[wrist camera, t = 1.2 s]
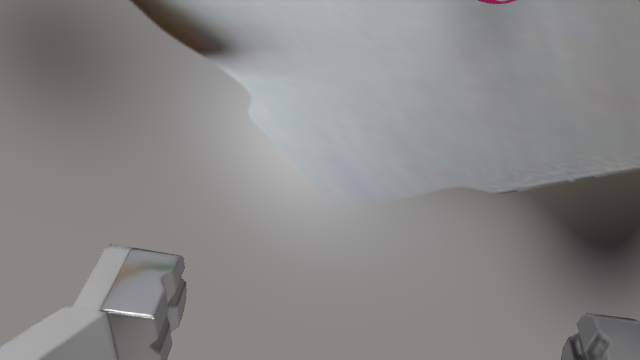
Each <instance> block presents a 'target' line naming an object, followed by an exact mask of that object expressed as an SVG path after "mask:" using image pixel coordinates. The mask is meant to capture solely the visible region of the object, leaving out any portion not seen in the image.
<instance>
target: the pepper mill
mask: <svg viewBox="0 0 640 360" xmlns="http://www.w3.org/2000/svg"><path fill="white" fill-rule="evenodd" d="M479 1H481V2H485V3H490V4H502V3H509V2H512V1H516V0H479Z"/></svg>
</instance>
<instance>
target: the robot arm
mask: <svg viewBox="0 0 640 360" xmlns="http://www.w3.org/2000/svg"><path fill="white" fill-rule="evenodd" d="M184 268H185V266H184V258H183V256H180V255H173V254H168V253H161V252H156V251H150V250H144V249H138V248H131V247H125V246H118V245H112V244H109V245H108V246H107V247H106V248H105V249H104V250H103V251H102V253H101V255H100V257H99V258H98V260H97V262H96V264H95V265H94V267H93V269H92V271H91V273H90V275H89V276H88V278H87V280H86V282H85V283H84V286H83V287H82V289H81V291H80V292H79V294H78V296H77V298H76V300H75V302H74V303H73V305H72V307H69V306H63V307H62V308H60V309H59V310H57V311H56V312H54V313H52V314H51V315H49V316H48V317H46V318H45V319H43V320H42V321H40V322H38V323H37V324H35V325H34V326H32V327H30V328H29V329H27V330H26V331H24V332H23V333H21V334H20V335H18V336H16V337H15V338H13V339H12V340H10V341H9V342H7V343H5V344H4V345H2V346H1V347H0V360H167V358H168V355H169V352H170V349H171V347H172V339H171V332H172V331H173V330H175V329H176V328H178V327H179V325H180V321H181V319H182V316H183V312H184V307H185V302H186V291H187V290H186V282H185V281H184V280H183V279H182V278H181V277H182V274H183V271H184ZM577 327H578V330H579V333H577V334H575V335H573V336H570V337H568V339H567V341H566V343H565V345H564V347H563V351H562V356H561V360H640V320H635V319H629V318H621V317H613V316H606V315H598V314H591V313H586V314H585V315H583V316H582V317H581V318H580V320H579V321H578V323H577Z"/></svg>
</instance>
